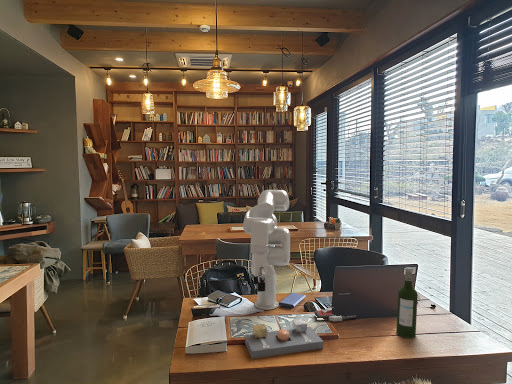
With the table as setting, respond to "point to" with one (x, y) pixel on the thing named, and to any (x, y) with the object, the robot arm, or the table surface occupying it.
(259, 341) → the grey slotted board
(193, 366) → the table surface
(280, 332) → the terracotta button
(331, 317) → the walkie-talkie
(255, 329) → the brass slider
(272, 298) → the robot arm
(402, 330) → the wine bottle
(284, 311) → the table surface
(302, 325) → the grey slider
